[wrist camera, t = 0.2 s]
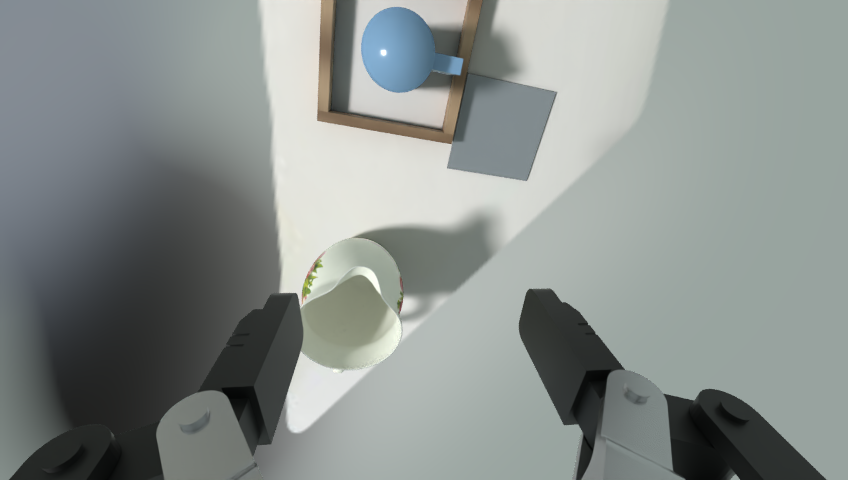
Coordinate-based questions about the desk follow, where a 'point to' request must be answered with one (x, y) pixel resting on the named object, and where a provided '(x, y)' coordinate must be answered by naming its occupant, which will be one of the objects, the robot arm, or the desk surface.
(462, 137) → the mat
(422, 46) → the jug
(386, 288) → the pitcher
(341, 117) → the holder
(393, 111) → the desk surface
